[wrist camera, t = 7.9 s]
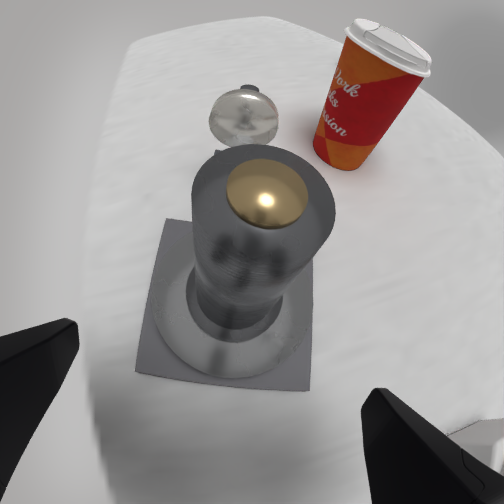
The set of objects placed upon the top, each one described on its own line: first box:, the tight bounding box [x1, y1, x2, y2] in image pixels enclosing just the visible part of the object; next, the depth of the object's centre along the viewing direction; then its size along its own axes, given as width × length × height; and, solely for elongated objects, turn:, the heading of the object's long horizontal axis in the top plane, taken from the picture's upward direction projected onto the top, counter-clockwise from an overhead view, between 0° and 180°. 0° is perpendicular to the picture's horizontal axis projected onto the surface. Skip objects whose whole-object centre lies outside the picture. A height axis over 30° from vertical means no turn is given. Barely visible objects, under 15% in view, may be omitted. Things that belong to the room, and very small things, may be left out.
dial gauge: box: [209, 85, 278, 155], centre depth 20 cm, size 4×4×9 cm
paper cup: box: [313, 19, 432, 171], centre depth 22 cm, size 8×8×14 cm
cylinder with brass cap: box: [186, 144, 336, 343], centre depth 13 cm, size 6×6×10 cm
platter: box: [151, 232, 313, 378], centre depth 18 cm, size 11×10×1 cm
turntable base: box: [135, 218, 313, 391], centre depth 19 cm, size 11×11×1 cm
